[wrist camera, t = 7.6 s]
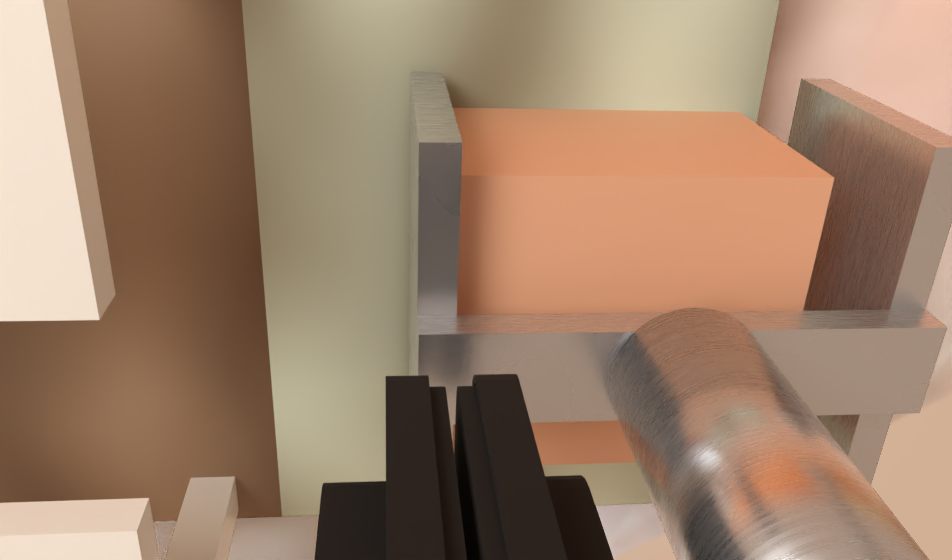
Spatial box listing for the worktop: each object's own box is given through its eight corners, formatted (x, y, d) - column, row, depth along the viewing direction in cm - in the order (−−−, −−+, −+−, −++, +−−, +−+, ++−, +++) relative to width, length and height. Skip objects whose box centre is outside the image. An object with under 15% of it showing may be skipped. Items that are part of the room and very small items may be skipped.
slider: (830, 79, 16) (1520, 407, 6) (763, 382, 20) (1161, 924, 10) (410, 71, 16) (456, 435, 6) (408, 389, 19) (436, 992, 9)
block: (739, 111, 17) (834, 178, 13) (696, 348, 19) (768, 457, 16) (440, 107, 16) (456, 175, 13) (435, 352, 19) (447, 468, 15)
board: (761, -138, 17) (805, -138, 15) (661, 453, 23) (684, 501, 21) (-1021, -221, 14) (-1231, -234, 12) (-570, 489, 20) (-665, 550, 18)
